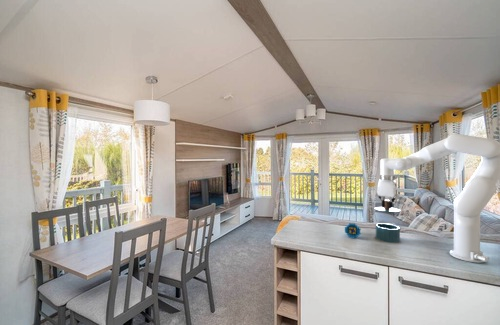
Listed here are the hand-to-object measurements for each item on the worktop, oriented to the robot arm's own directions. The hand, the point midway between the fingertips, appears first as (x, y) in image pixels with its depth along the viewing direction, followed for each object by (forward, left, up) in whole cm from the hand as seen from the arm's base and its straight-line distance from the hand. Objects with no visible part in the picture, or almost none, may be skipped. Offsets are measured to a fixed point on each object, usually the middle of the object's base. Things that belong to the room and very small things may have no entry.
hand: (387, 207), depth 135 cm
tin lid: (0, 0, -2) cm, 2 cm away
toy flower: (+11, +16, -20) cm, 29 cm away
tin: (0, -1, -20) cm, 20 cm away
